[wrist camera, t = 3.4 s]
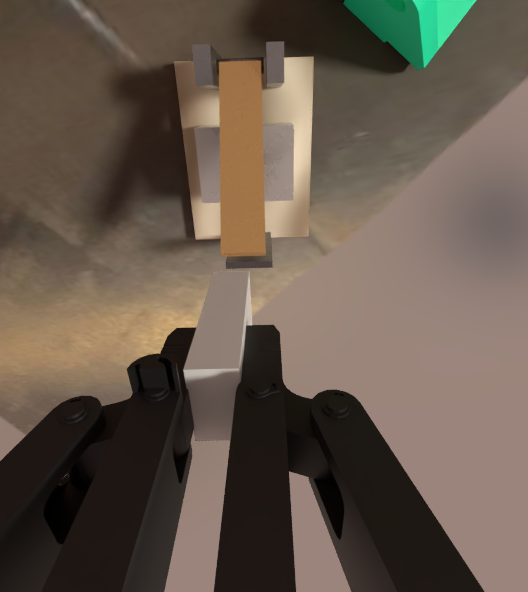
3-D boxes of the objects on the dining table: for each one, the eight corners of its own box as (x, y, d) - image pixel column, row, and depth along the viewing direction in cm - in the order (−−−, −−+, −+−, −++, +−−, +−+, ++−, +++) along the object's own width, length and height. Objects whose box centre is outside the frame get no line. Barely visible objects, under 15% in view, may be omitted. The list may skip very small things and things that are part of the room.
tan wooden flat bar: (219, 256, 25) (217, 253, 24) (218, 66, 27) (216, 55, 26) (268, 255, 25) (268, 251, 24) (263, 64, 27) (263, 53, 26)
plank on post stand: (214, 239, 39) (203, 269, 31) (196, 57, 31) (177, 43, 24) (289, 236, 38) (295, 266, 31) (290, 54, 31) (298, 39, 24)
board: (197, 235, 40) (195, 239, 39) (176, 62, 32) (173, 61, 31) (307, 232, 39) (308, 236, 38) (312, 58, 32) (313, 56, 31)
